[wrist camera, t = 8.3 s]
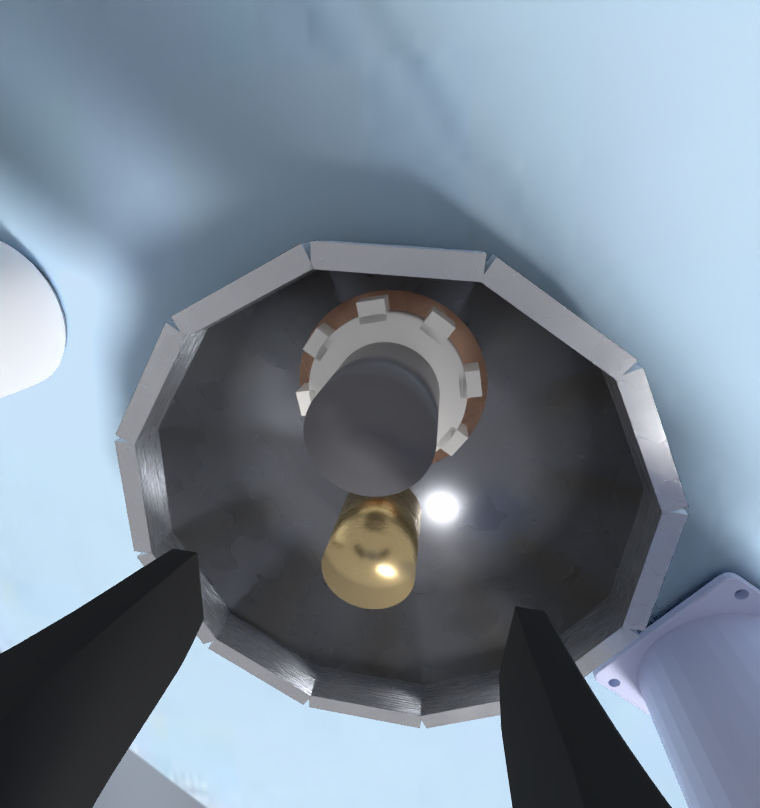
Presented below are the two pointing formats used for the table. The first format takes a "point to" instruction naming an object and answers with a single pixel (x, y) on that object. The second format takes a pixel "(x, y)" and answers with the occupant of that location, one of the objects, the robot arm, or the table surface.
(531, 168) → the table surface
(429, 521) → the bowl
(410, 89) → the table surface
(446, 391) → the gear
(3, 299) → the can
